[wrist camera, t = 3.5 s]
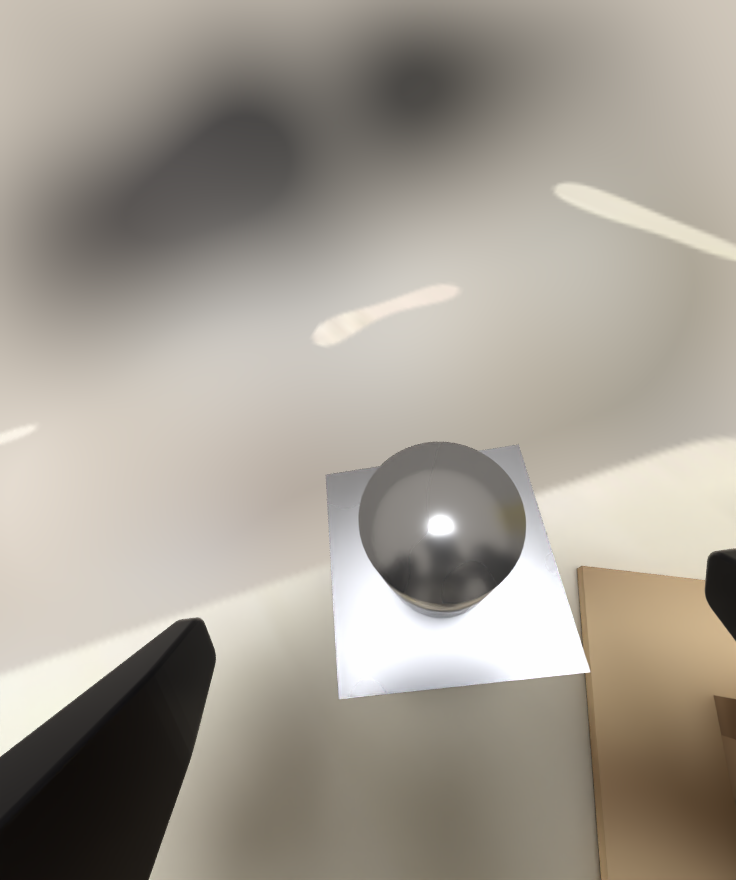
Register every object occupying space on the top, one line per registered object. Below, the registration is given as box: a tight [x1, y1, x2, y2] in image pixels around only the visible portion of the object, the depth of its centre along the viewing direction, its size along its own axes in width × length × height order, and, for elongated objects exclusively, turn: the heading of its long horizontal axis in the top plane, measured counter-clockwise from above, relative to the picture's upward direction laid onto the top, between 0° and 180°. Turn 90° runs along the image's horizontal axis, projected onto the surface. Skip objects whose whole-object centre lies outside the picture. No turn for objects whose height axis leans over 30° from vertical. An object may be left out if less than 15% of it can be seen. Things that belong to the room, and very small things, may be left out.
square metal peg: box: [326, 442, 590, 699], centre depth 10 cm, size 4×4×12 cm
